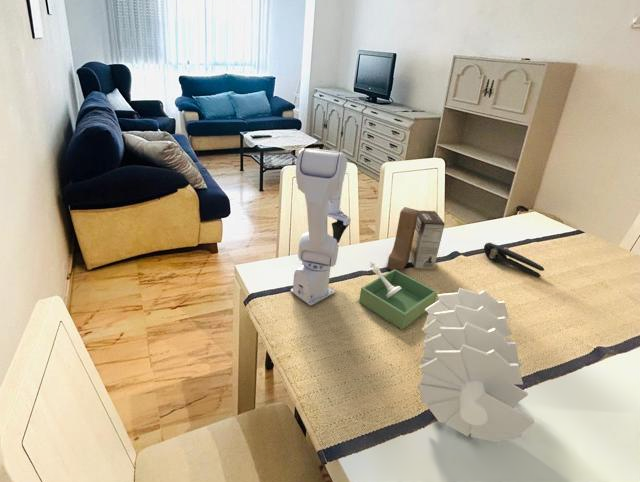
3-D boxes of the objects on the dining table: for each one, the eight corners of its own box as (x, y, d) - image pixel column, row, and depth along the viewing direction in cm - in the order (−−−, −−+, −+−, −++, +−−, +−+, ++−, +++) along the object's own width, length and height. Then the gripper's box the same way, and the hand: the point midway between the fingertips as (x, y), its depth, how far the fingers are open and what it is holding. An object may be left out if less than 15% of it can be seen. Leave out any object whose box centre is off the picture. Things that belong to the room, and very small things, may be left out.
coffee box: (406, 253, 128) (414, 209, 122) (425, 254, 128) (435, 210, 122) (414, 268, 119) (424, 222, 113) (435, 269, 119) (446, 223, 113)
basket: (401, 329, 93) (405, 314, 91) (358, 301, 102) (361, 287, 101) (434, 305, 102) (437, 291, 101) (392, 282, 112) (394, 268, 110)
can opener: (477, 257, 127) (481, 242, 125) (486, 251, 132) (490, 236, 130) (537, 282, 115) (542, 266, 113) (544, 274, 120) (550, 259, 118)
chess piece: (397, 291, 99) (372, 259, 103) (384, 301, 102) (360, 269, 105) (404, 286, 103) (381, 255, 107) (392, 295, 105) (369, 265, 109)
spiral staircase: (431, 451, 70) (434, 351, 91) (545, 460, 61) (520, 348, 83) (401, 371, 65) (412, 286, 87) (520, 370, 57) (500, 276, 78)
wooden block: (400, 274, 116) (411, 220, 109) (386, 269, 118) (395, 216, 111) (408, 261, 123) (419, 210, 116) (394, 256, 125) (404, 206, 119)
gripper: (359, 201, 108) (353, 243, 113) (322, 185, 118) (318, 225, 123) (343, 206, 103) (337, 250, 108) (305, 190, 113) (302, 231, 118)
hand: (326, 237), depth 115 cm, fingers open, 7 cm apart
